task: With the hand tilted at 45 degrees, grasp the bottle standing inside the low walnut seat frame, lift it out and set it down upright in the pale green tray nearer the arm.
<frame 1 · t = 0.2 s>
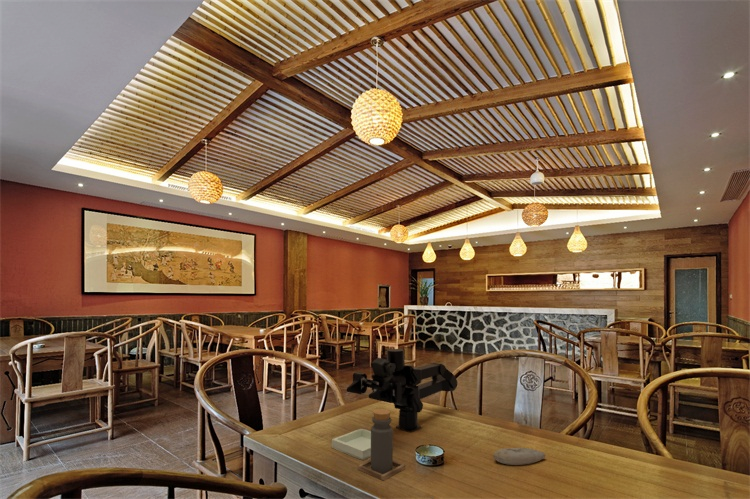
hand: (357, 393, 122), 16 cm above the table, tool horizontal, fingers open, 9 cm apart
bottle: (381, 470, 108), resting in seat frame
tray: (362, 447, 123), on the table
seat frame: (381, 469, 108), on the table
decorative stone: (519, 462, 114), on the table
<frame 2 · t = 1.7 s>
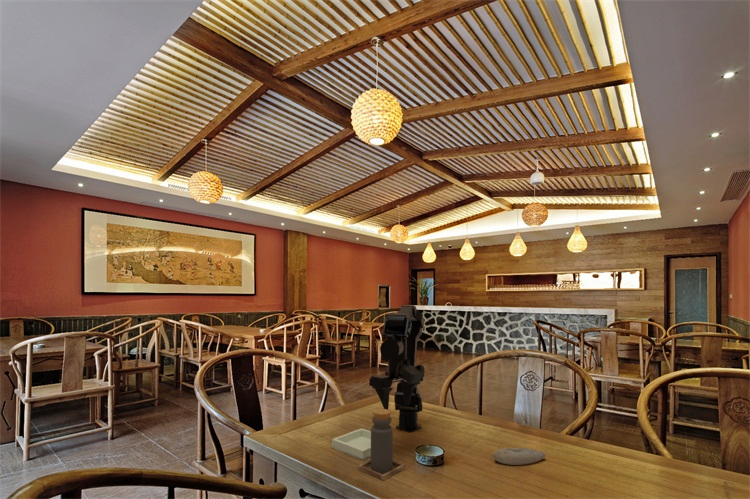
hand: (396, 407, 123), 12 cm above the table, tool pointing down, fingers open, 9 cm apart
nothing on the table moved.
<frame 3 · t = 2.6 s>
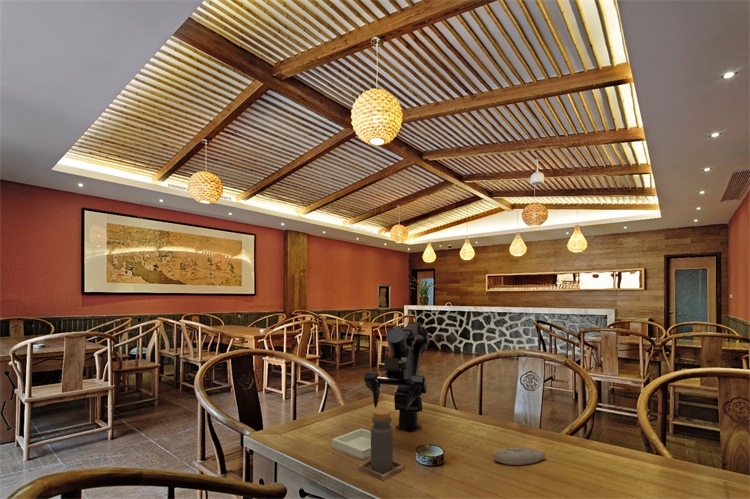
hand: (390, 408, 118), 13 cm above the table, tool tilted 45°, fingers open, 9 cm apart
nothing on the table moved.
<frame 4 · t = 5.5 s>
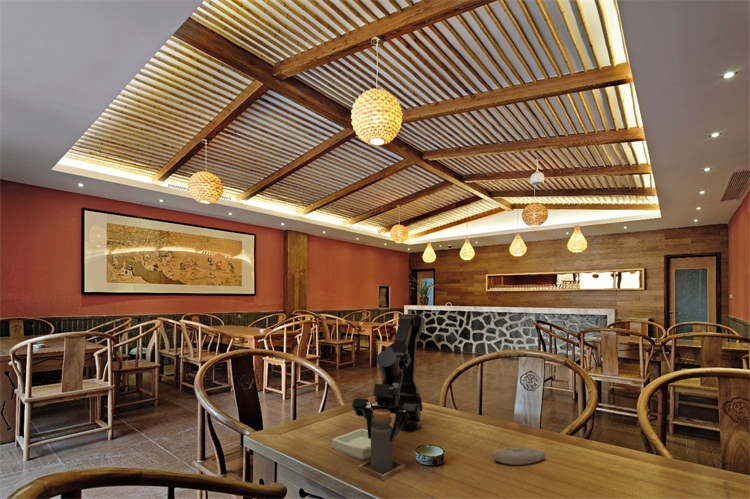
hand: (380, 439, 108), 8 cm above the table, tool tilted 45°, fingers closed on bottle, 6 cm apart
bottle: (381, 470, 108), resting in seat frame, touching gripper
everything else where it was.
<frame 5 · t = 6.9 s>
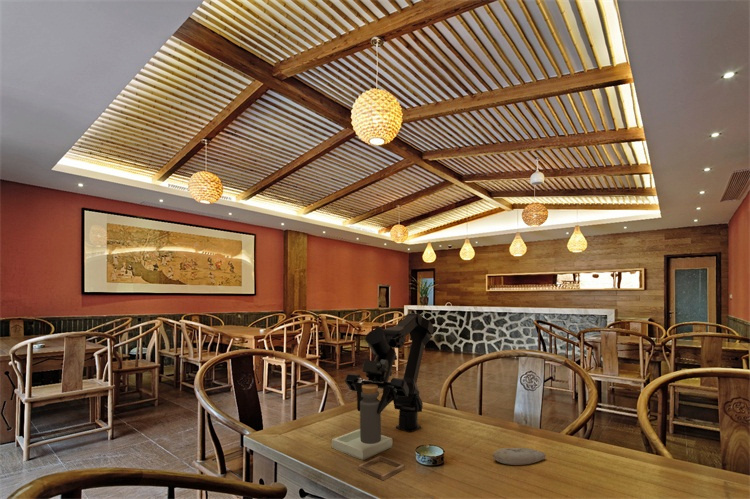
hand: (368, 412, 114), 13 cm above the table, tool tilted 45°, fingers closed on bottle, 6 cm apart
bottle: (370, 440, 115), point 5 cm above the table, touching gripper
everything else where it was.
when the fingers open (9 cm above the table, at t = 8.7 s): bottle stays where it is, resting on tray.
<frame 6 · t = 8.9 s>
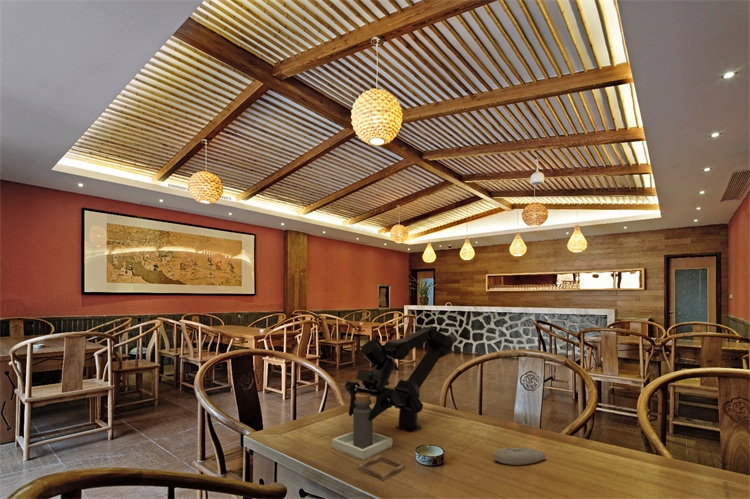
hand: (359, 417, 123), 9 cm above the table, tool tilted 45°, fingers open, 7 cm apart
bottle: (363, 446, 123), resting on tray
everything else where it was.
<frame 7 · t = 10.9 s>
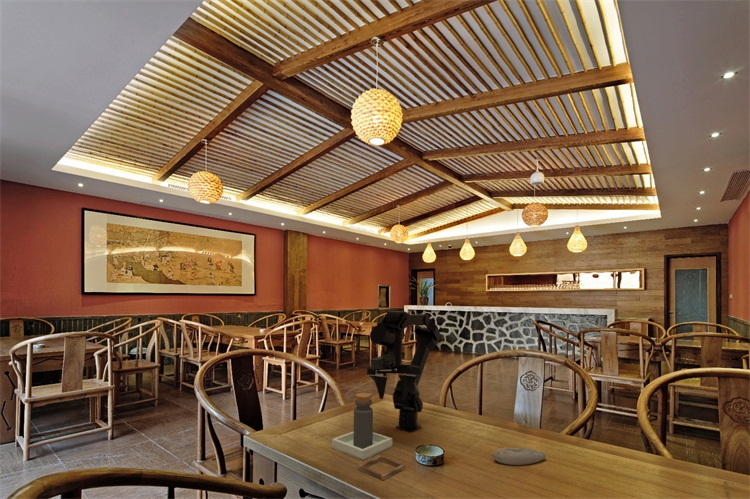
hand: (391, 399, 128), 13 cm above the table, tool tilted 15°, fingers open, 9 cm apart
nothing on the table moved.
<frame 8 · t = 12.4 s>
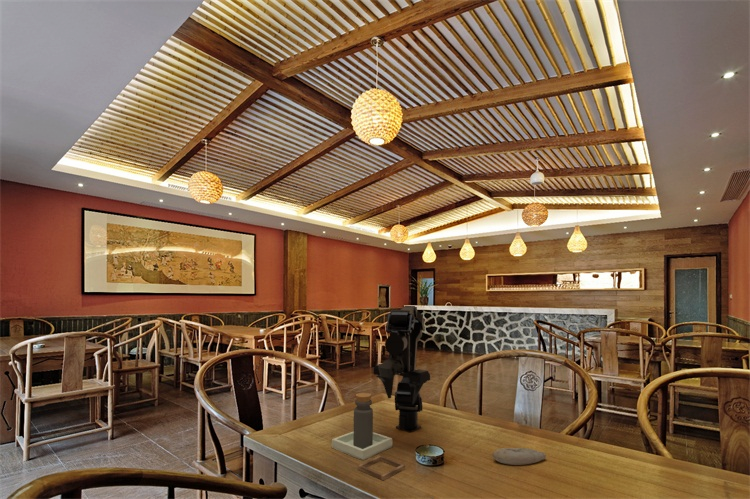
hand: (400, 400, 127), 13 cm above the table, tool pointing down, fingers open, 9 cm apart
nothing on the table moved.
at the end: bottle inside the target area on the tray (0.3 cm from its centre), point 0.3 cm above the tray's base; bottle tilted 0°; the gripper is holding nothing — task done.
